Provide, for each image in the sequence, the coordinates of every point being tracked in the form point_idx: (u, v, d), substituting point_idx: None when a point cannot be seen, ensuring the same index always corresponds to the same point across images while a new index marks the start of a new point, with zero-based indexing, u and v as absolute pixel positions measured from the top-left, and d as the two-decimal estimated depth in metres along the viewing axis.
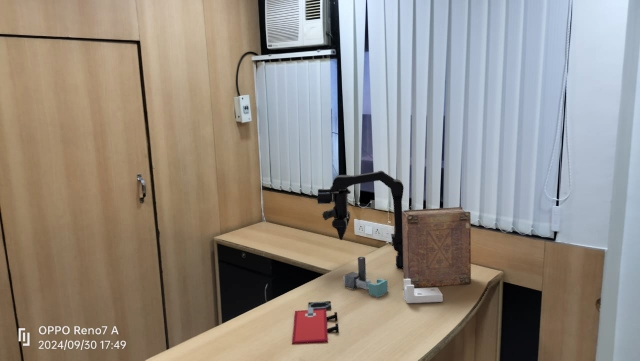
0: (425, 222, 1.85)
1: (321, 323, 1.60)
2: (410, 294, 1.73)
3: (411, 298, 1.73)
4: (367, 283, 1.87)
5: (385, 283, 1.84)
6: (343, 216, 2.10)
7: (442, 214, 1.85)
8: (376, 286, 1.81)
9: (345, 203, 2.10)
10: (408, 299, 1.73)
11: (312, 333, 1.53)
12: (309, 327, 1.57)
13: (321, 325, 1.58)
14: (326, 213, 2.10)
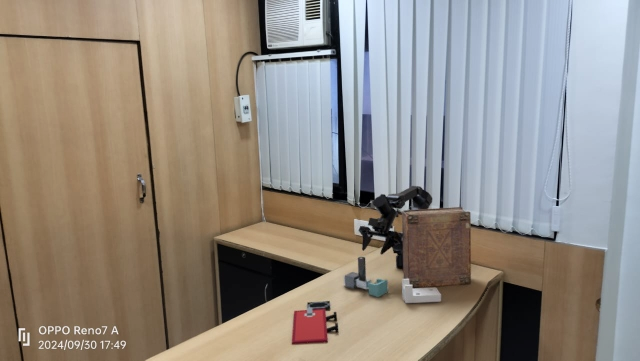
0: (425, 222, 1.85)
1: (321, 323, 1.60)
2: (409, 294, 1.73)
3: (409, 298, 1.73)
4: (367, 283, 1.87)
5: (385, 283, 1.84)
6: (387, 233, 1.97)
7: (442, 214, 1.85)
8: (376, 286, 1.81)
9: None
10: (406, 299, 1.73)
11: (312, 333, 1.53)
12: (309, 327, 1.57)
13: (321, 325, 1.58)
14: (385, 221, 1.92)
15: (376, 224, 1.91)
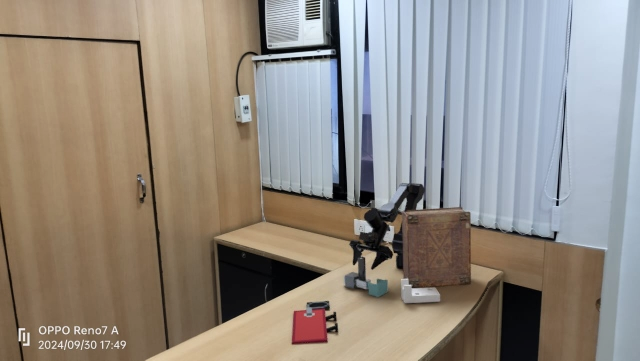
0: (425, 222, 1.85)
1: (320, 323, 1.60)
2: (408, 294, 1.73)
3: (409, 298, 1.73)
4: (367, 283, 1.87)
5: (385, 283, 1.84)
6: (378, 248, 1.92)
7: (442, 214, 1.85)
8: (376, 286, 1.81)
9: None
10: (406, 299, 1.73)
11: (312, 333, 1.53)
12: (308, 327, 1.57)
13: (320, 325, 1.58)
14: (376, 235, 1.87)
15: (367, 238, 1.87)
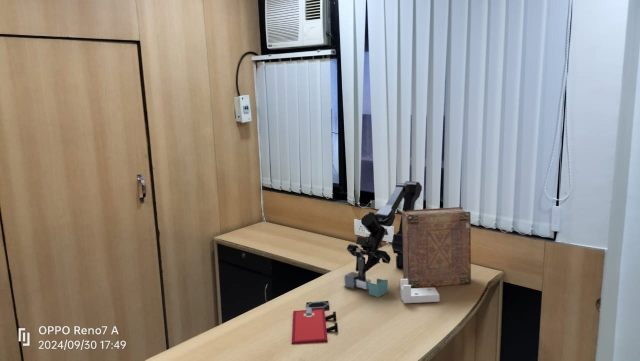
0: (425, 222, 1.85)
1: (320, 323, 1.60)
2: (407, 294, 1.73)
3: (408, 298, 1.73)
4: (367, 283, 1.87)
5: (385, 283, 1.84)
6: (376, 252, 1.91)
7: (442, 214, 1.85)
8: (376, 286, 1.81)
9: None
10: (405, 299, 1.73)
11: (311, 333, 1.53)
12: (308, 327, 1.57)
13: (320, 325, 1.58)
14: (373, 240, 1.86)
15: (364, 243, 1.86)
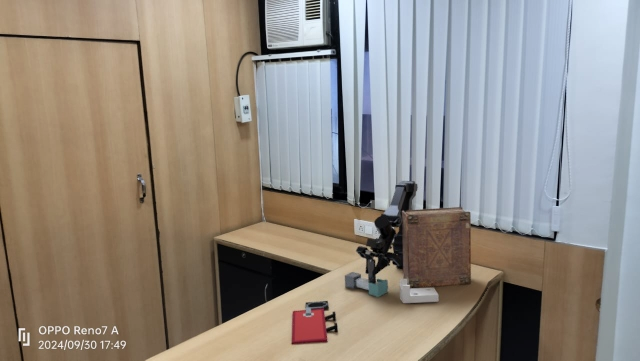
0: (425, 222, 1.85)
1: (320, 322, 1.60)
2: (406, 294, 1.73)
3: (407, 298, 1.73)
4: None
5: (385, 283, 1.84)
6: None
7: (442, 214, 1.85)
8: (376, 286, 1.81)
9: None
10: (404, 299, 1.73)
11: (311, 333, 1.53)
12: (308, 327, 1.58)
13: (320, 325, 1.59)
14: (384, 242, 1.83)
15: (374, 245, 1.82)
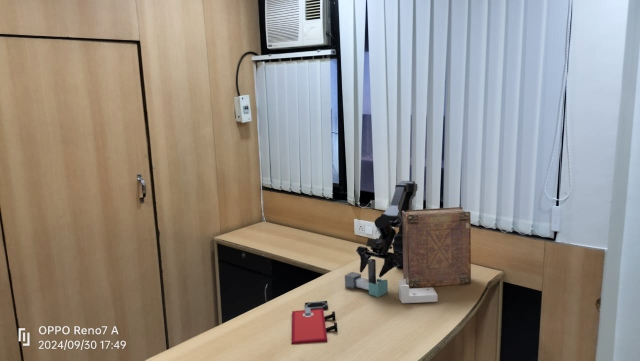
0: (425, 222, 1.85)
1: (319, 322, 1.60)
2: (405, 294, 1.73)
3: (406, 298, 1.73)
4: None
5: (385, 283, 1.84)
6: (386, 254, 1.88)
7: (442, 214, 1.85)
8: (376, 286, 1.81)
9: None
10: (403, 299, 1.73)
11: (311, 333, 1.53)
12: (308, 327, 1.58)
13: (319, 324, 1.59)
14: (384, 242, 1.83)
15: (375, 245, 1.82)
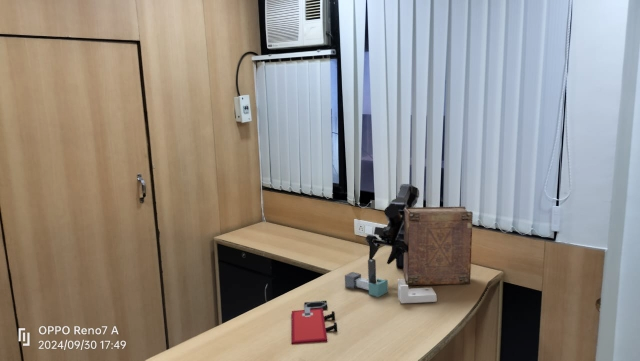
0: (426, 220, 1.85)
1: (319, 322, 1.60)
2: (404, 294, 1.73)
3: (405, 298, 1.73)
4: None
5: (385, 283, 1.84)
6: None
7: (444, 213, 1.85)
8: (376, 286, 1.81)
9: None
10: (402, 299, 1.73)
11: (311, 332, 1.53)
12: (307, 327, 1.58)
13: (319, 324, 1.59)
14: (391, 229, 1.88)
15: (382, 233, 1.87)
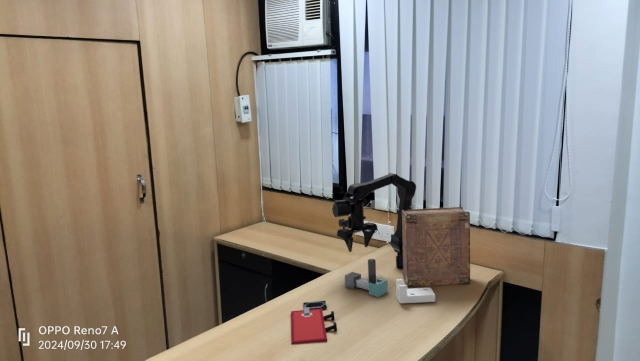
0: (424, 221, 1.86)
1: (319, 322, 1.60)
2: (403, 294, 1.73)
3: (404, 298, 1.73)
4: None
5: (385, 283, 1.84)
6: (355, 228, 1.99)
7: (441, 214, 1.85)
8: (376, 286, 1.81)
9: (363, 213, 2.00)
10: (401, 299, 1.73)
11: (311, 333, 1.54)
12: (307, 327, 1.58)
13: (319, 324, 1.59)
14: (340, 221, 2.03)
15: None
